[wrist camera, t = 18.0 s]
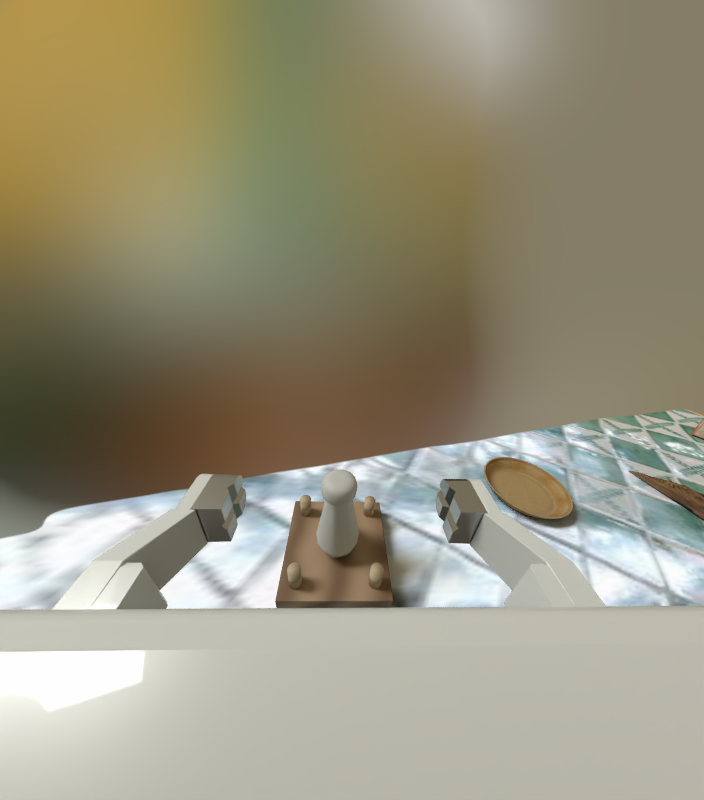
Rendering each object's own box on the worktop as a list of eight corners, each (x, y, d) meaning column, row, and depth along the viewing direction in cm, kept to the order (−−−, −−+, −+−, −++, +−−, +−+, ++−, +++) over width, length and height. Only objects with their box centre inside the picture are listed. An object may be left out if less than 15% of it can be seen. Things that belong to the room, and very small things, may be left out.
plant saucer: (573, 495, 50) (579, 486, 48) (557, 545, 41) (564, 535, 39) (495, 456, 59) (499, 447, 58) (468, 489, 50) (471, 480, 48)
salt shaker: (346, 519, 40) (350, 456, 33) (364, 553, 35) (373, 488, 29) (310, 534, 37) (308, 470, 31) (325, 573, 33) (326, 506, 26)
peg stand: (277, 611, 31) (272, 588, 28) (296, 511, 43) (294, 488, 40) (390, 610, 32) (396, 588, 29) (377, 512, 44) (381, 490, 41)
